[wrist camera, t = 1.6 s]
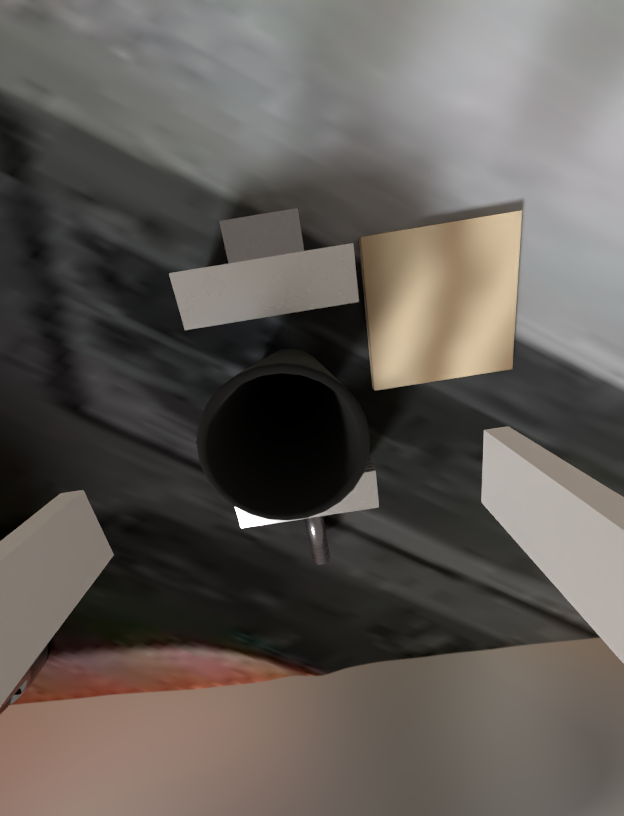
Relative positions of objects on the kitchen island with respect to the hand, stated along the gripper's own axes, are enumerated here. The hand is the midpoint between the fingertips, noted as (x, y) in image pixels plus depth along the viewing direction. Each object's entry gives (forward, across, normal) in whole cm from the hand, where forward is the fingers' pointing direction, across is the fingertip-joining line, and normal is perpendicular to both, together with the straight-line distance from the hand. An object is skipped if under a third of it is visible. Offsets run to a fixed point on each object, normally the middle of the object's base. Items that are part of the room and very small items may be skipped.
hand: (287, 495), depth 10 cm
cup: (+16, 0, 0) cm, 16 cm away
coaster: (+16, +12, +4) cm, 20 cm away
